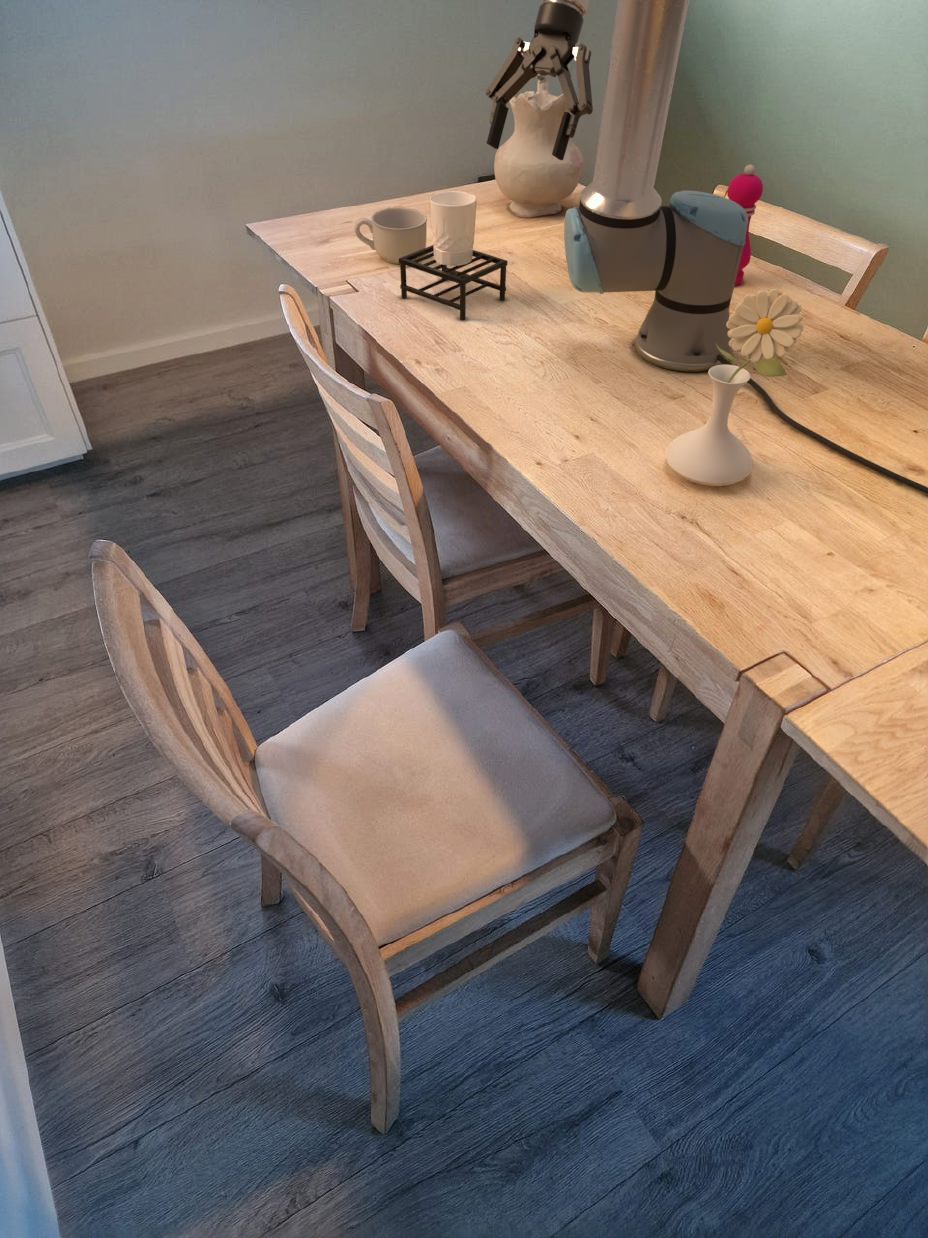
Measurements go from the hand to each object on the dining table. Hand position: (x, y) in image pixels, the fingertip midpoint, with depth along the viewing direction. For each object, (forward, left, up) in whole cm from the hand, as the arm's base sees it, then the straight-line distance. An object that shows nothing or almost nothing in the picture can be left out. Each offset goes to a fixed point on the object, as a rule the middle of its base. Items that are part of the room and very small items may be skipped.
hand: (524, 151), depth 143 cm
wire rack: (+4, +14, -22) cm, 26 cm away
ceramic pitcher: (+24, -37, -22) cm, 49 cm away
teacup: (+26, +7, -22) cm, 35 cm away
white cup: (+4, +14, -15) cm, 21 cm away
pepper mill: (-29, -27, -22) cm, 45 cm away
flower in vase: (-59, +34, -22) cm, 72 cm away
